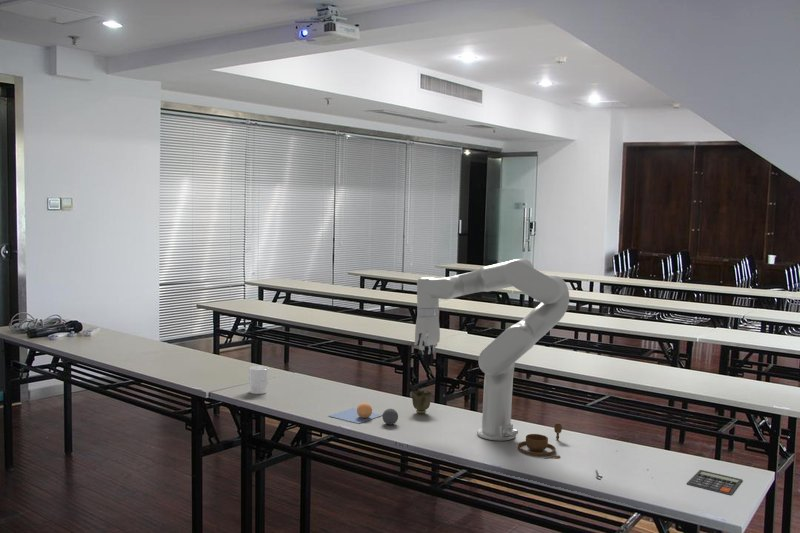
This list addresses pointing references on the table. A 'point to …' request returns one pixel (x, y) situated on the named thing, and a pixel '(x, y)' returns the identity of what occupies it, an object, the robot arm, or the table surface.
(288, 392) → the table surface
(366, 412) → the orange ball
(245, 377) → the table surface
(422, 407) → the brown round vessel
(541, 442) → the place setting
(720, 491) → the calculator
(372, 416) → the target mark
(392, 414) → the gray ball
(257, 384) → the white cup
